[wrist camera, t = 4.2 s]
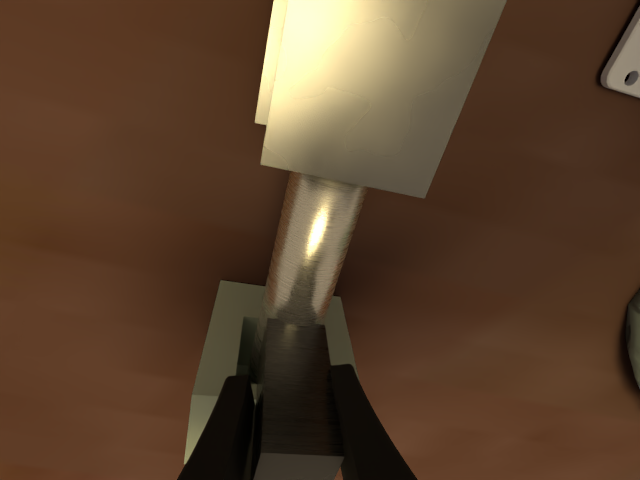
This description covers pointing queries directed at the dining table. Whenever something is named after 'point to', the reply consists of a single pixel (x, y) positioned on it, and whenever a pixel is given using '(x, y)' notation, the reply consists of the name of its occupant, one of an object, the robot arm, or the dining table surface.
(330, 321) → the socket block
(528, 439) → the dining table surface
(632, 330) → the tree stump
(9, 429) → the dining table surface
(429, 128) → the grey boxy piece
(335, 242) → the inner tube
